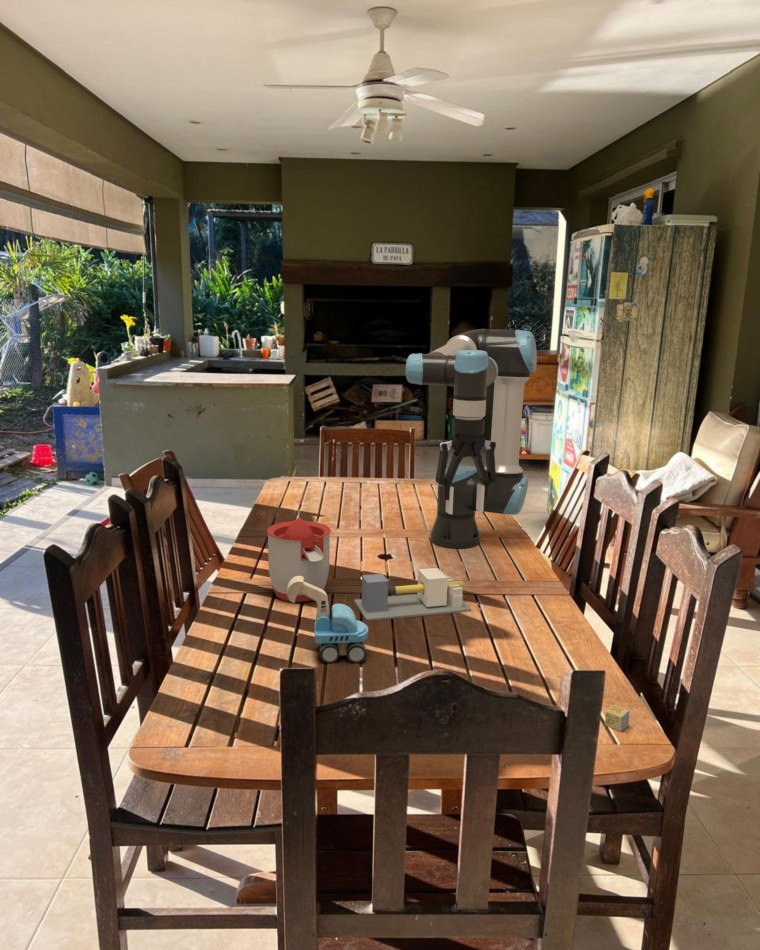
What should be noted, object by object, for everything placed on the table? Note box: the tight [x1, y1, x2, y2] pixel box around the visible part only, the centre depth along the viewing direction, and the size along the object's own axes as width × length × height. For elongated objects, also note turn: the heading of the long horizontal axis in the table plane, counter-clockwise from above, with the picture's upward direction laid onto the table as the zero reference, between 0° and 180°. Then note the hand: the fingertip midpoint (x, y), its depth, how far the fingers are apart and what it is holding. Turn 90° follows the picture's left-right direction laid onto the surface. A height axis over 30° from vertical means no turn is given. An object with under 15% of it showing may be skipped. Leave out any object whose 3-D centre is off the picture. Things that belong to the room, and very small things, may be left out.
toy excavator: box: [287, 576, 369, 664], centre depth 156 cm, size 9×17×17 cm, turn 95°
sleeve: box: [416, 567, 448, 607], centre depth 184 cm, size 5×7×7 cm
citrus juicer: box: [266, 517, 332, 604], centre depth 186 cm, size 16×17×20 cm
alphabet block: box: [604, 704, 631, 732], centre depth 133 cm, size 3×3×3 cm
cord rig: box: [353, 573, 473, 622], centre depth 182 cm, size 26×12×8 cm, turn 106°
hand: (464, 511), depth 182 cm, fingers open, 7 cm apart
